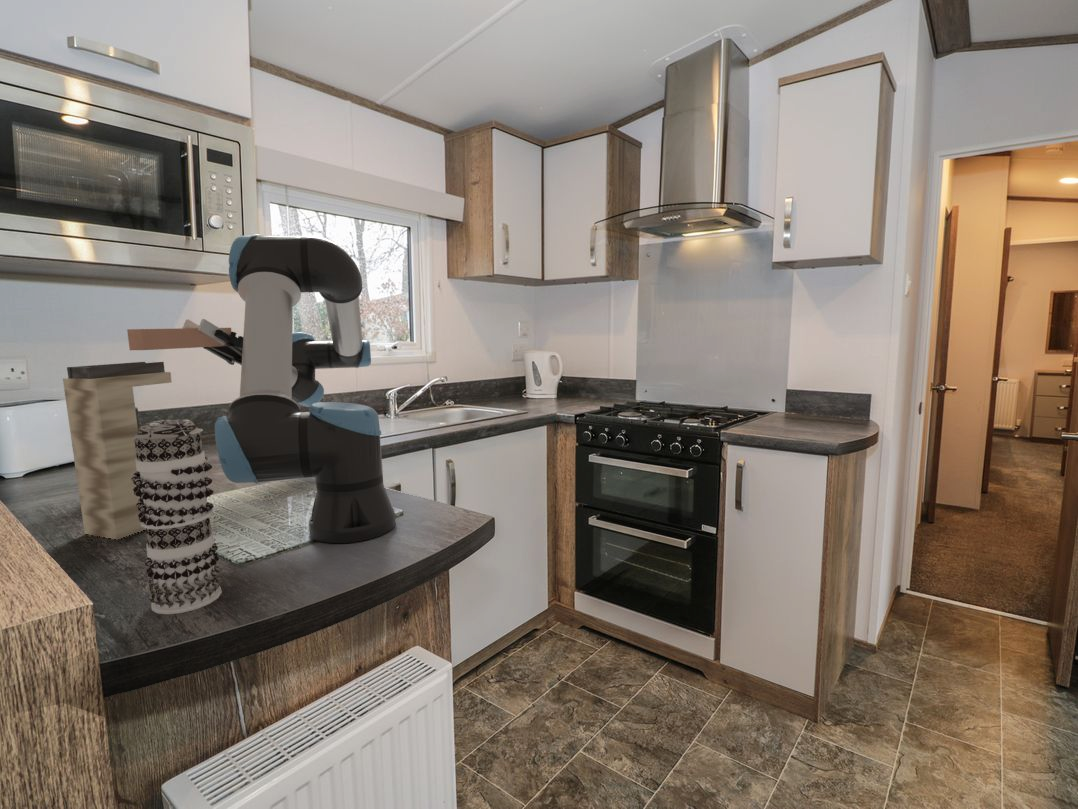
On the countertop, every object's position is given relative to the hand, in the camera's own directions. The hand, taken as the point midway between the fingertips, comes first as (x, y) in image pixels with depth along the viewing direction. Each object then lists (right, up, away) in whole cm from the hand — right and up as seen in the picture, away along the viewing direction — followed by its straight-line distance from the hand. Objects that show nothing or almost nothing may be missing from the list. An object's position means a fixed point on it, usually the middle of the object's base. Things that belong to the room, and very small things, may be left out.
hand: (193, 325), depth 121 cm
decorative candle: (+24, -44, -41) cm, 65 cm away
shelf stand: (-4, -40, -10) cm, 42 cm away
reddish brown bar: (-1, -5, -2) cm, 5 cm away
